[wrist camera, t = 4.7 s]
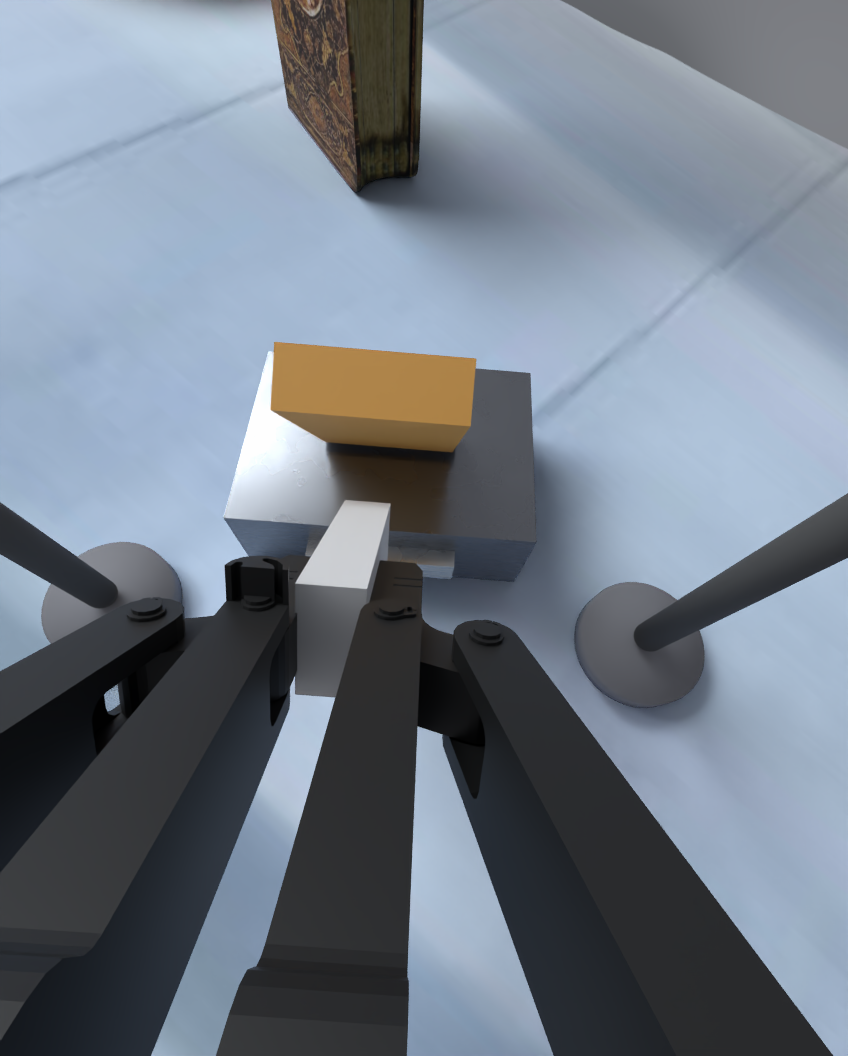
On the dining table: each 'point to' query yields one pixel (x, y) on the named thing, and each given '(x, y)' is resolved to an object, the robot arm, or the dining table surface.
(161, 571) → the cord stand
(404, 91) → the book
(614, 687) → the stand
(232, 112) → the dining table surface
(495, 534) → the block
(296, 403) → the orange rectangular prism
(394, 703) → the robot arm
